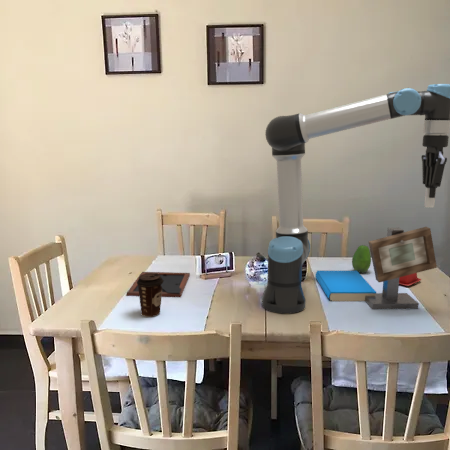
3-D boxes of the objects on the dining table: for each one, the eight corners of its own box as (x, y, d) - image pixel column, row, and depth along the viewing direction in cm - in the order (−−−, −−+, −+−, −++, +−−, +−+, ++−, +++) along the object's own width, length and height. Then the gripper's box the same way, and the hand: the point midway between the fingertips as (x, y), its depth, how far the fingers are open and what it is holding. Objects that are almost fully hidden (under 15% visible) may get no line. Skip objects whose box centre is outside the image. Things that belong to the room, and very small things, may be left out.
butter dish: (381, 281, 192) (383, 261, 190) (396, 275, 200) (398, 256, 198) (407, 289, 184) (409, 267, 182) (422, 282, 191) (424, 262, 189)
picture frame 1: (180, 298, 173) (189, 276, 197) (180, 293, 172) (189, 272, 197) (126, 297, 174) (142, 275, 198) (126, 292, 174) (142, 271, 198)
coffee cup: (165, 308, 162) (164, 272, 160) (163, 318, 154) (162, 280, 152) (139, 308, 162) (138, 272, 159) (136, 318, 154) (134, 280, 151)
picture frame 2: (379, 283, 160) (372, 244, 157) (376, 279, 163) (368, 241, 160) (437, 268, 159) (431, 228, 156) (432, 265, 163) (426, 226, 160)
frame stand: (372, 309, 163) (378, 232, 157) (362, 298, 173) (368, 226, 167) (418, 308, 164) (425, 232, 158) (406, 298, 173) (413, 226, 167)
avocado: (372, 275, 199) (374, 247, 197) (353, 274, 199) (355, 247, 197) (367, 269, 207) (369, 242, 205) (349, 269, 207) (350, 242, 205)
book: (356, 270, 194) (377, 291, 170) (356, 280, 195) (376, 302, 170) (314, 270, 194) (329, 291, 169) (314, 280, 195) (328, 302, 170)
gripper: (458, 135, 146) (450, 210, 151) (437, 133, 158) (431, 203, 163) (433, 135, 145) (426, 210, 150) (415, 133, 158) (409, 203, 163)
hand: (429, 207), depth 157 cm, fingers closed
